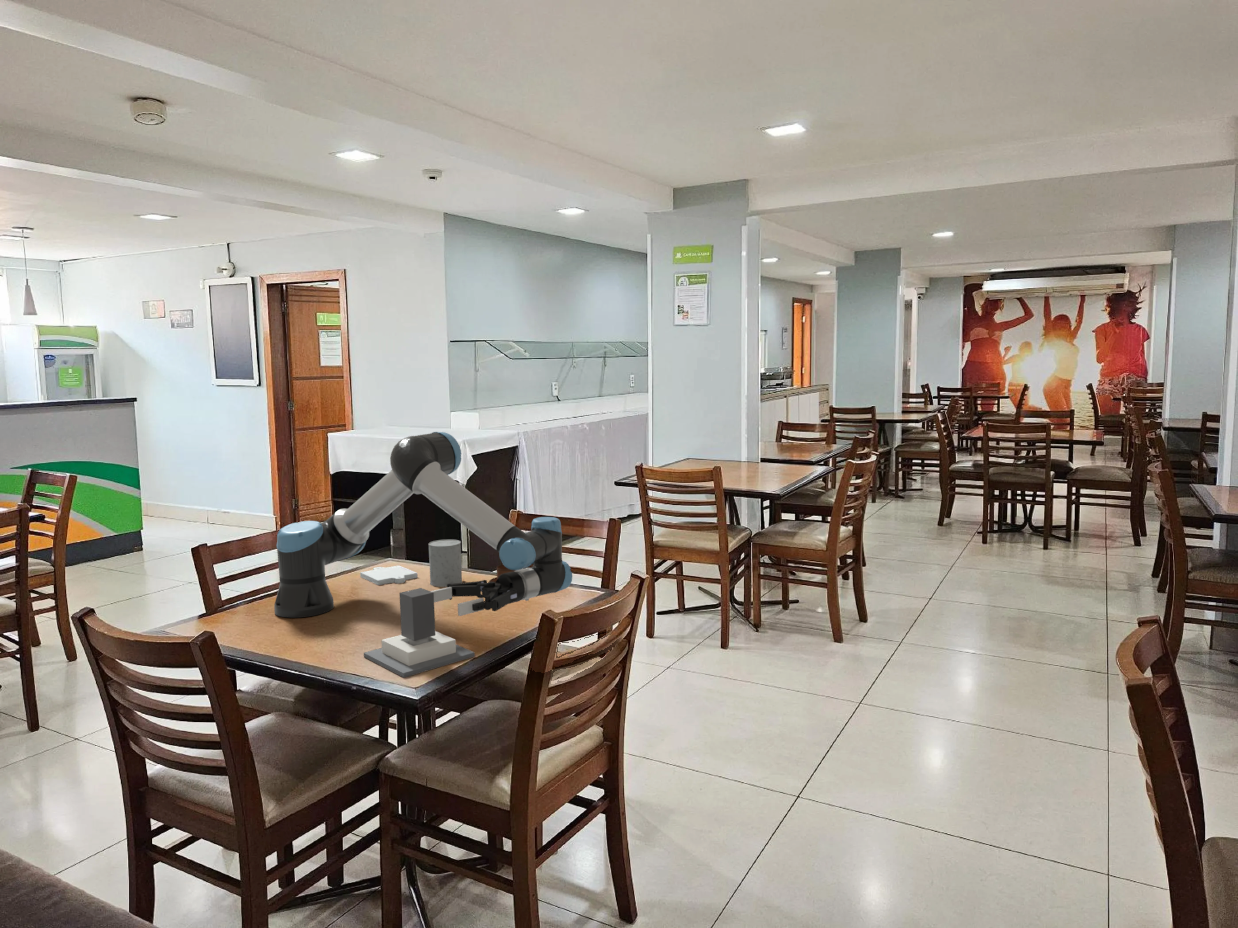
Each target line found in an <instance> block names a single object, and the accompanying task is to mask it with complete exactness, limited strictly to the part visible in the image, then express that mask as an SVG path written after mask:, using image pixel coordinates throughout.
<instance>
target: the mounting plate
mask: <svg viewBox="0 0 1238 928" xmlns="http://www.w3.org/2000/svg"><path fill="white" fill-rule="evenodd" d="M359 577H360V578H361V579H364V580H366V581H368V582H370V583H373V584H374V585H377V586H381V585H386V584H392V583H394V584H397V585H398V584H404V583H405V582H406V580H412V579H418V578H419V577H418V572H416V571H414V570H411V569H410V568H406V567H403V566H401V565H399V564H398V565H392V566H388V567H387V566H386V567H383V566H377V567H373V568H372V569H370V570H367V571H366V570H365V571H360V572H359Z"/></svg>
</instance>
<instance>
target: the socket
mask: <svg viewBox="0 0 1238 928" xmlns="http://www.w3.org/2000/svg"><path fill="white" fill-rule="evenodd" d="M428 638H429V642H427V643H423V644H419V645H416V646H412V645H410V644H409V639H408V638H406V637H404V636H401V634H399V635H396V636H392V637H391V636H390V637H387V638H384V639H381V648H377V649H373V650H369V651H365V652H363V658H365V659H367V660H369V661H371V662H372V663H375V664H377V665H378V666H381V667H383V668H384V669H386V670H388V671H390V672H392V673H394V674H396V675H397V676H399V677H401V678H407V677H411V676H414V675H417V674H420V673H424V672H427V671H431V670H434V669H437V668H442V667H444V666H447V665H451V664H454V663H457V662H460V661H464V660H467V659H471V658H474V657H476V656H475V653H476V652H475V651H473V650H470V649H468V648H466V647H463V646H461V645H459V644H457V641H456V640H457V639H455V638H452V637H450V636H448V635H445V634H443V633H441V632H439V631H436V630H435V636H431V637H428Z"/></svg>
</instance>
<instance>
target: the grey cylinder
mask: <svg viewBox="0 0 1238 928" xmlns="http://www.w3.org/2000/svg"><path fill="white" fill-rule="evenodd" d="M461 543H462V541H461V540H458V539H453V538H452V539H446V538H445V539H438V540H433V541H430V542H429V543H428V558H429V559H428V560H429V582H430V584H429V585H430V586H432V587H436V588H437V587H438V588H447V584H454V583H463V577H462V575H463V572H462V569H463V568H462V549H461V548H462V547H461Z"/></svg>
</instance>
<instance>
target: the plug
mask: <svg viewBox="0 0 1238 928" xmlns="http://www.w3.org/2000/svg"><path fill="white" fill-rule="evenodd" d="M431 591H432V590H428V589H425V588H422V587H419V588H415V589H409V590H405V591H400V592H399V610H400V614H399V615H400V635H401V636H404V637H406V638H408V639H409V644H410V645H412V646H416V645H419V644H423V643H427V642H429V638H428V637H431V636H435V631H436V617H435V602H434V592H431Z"/></svg>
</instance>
